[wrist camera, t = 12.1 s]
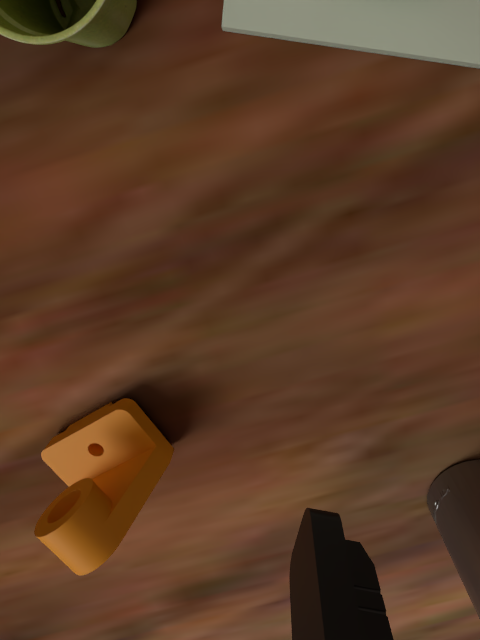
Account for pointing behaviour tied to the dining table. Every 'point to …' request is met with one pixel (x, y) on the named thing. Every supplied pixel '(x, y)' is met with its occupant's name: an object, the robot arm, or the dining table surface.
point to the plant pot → (66, 21)
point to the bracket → (101, 482)
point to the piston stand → (367, 26)
